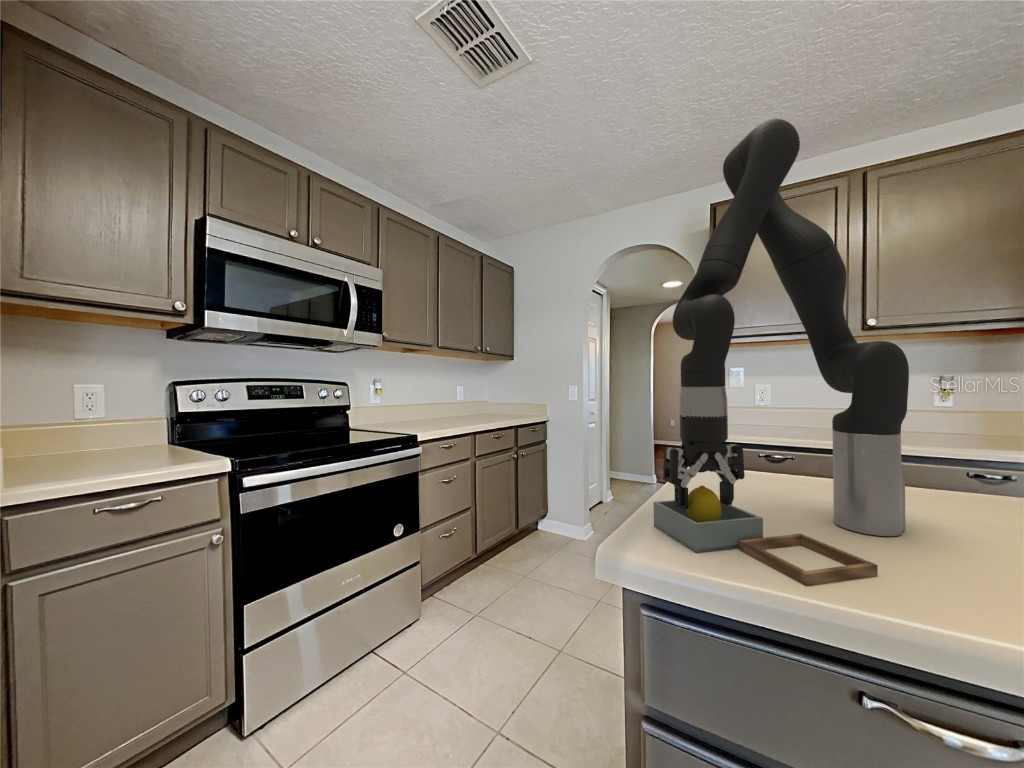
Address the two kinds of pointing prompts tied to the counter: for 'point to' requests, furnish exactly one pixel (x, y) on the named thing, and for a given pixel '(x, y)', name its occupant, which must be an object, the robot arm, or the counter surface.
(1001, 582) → the counter surface
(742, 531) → the bin
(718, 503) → the lemon
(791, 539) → the tray
